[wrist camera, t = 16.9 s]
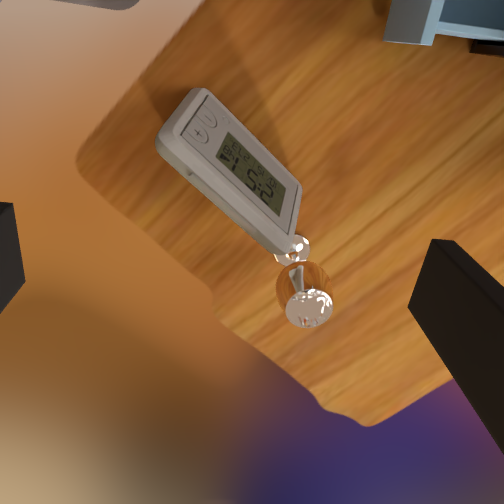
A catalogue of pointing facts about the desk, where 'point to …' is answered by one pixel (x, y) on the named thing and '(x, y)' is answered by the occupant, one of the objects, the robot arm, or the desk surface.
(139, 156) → the desk surface
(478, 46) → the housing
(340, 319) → the desk surface
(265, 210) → the digital clock
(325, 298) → the wineglass
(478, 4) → the light blue plastic piece
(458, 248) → the robot arm
